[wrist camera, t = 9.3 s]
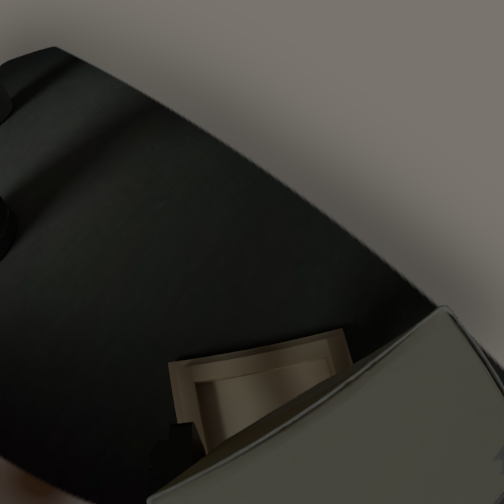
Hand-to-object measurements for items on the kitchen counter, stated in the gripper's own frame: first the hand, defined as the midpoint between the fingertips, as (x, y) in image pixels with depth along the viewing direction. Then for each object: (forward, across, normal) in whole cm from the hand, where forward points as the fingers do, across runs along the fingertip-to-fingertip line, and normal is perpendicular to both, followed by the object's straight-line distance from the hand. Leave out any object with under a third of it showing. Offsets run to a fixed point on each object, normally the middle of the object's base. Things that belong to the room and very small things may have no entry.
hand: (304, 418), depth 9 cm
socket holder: (+9, 0, +11) cm, 15 cm away
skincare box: (+3, 0, +6) cm, 6 cm away
